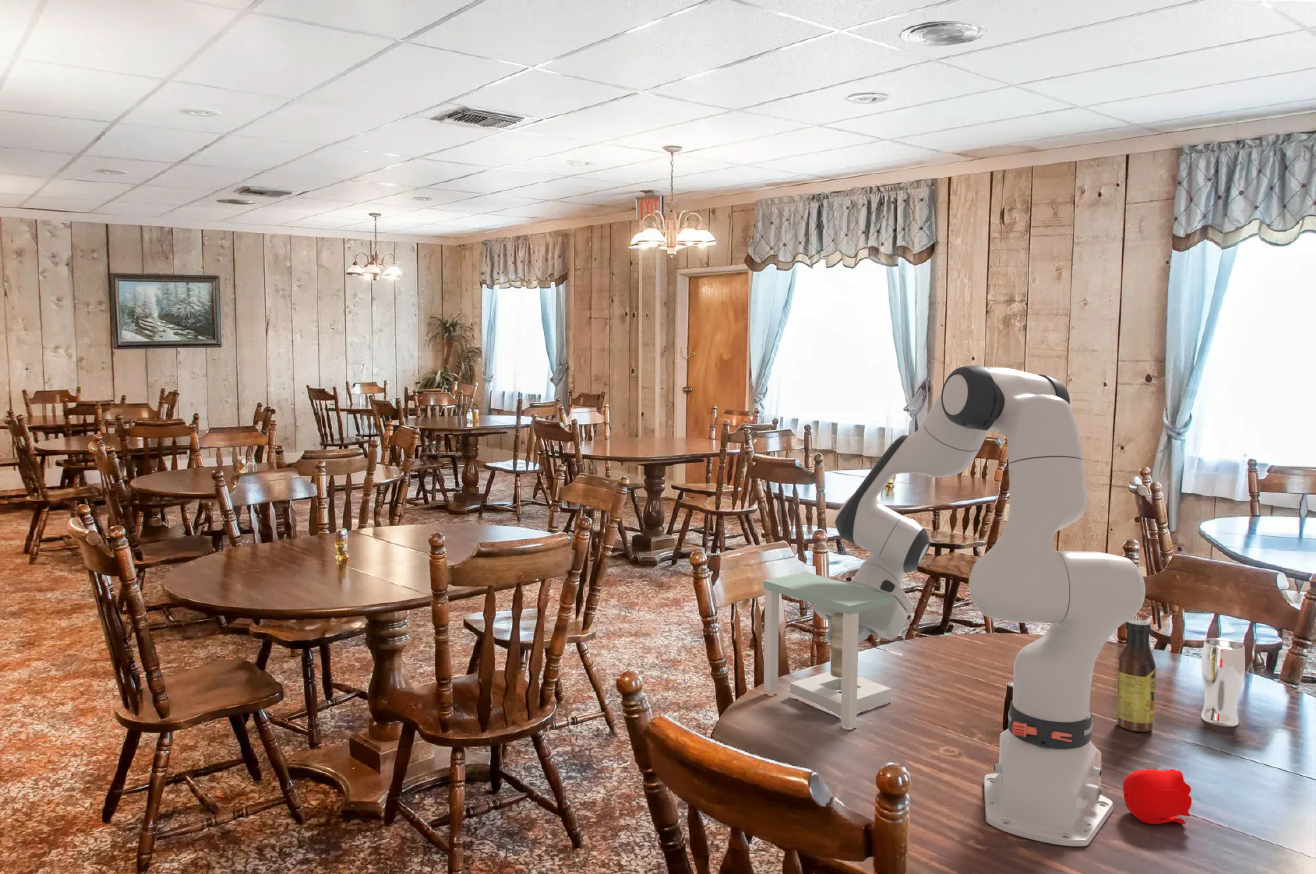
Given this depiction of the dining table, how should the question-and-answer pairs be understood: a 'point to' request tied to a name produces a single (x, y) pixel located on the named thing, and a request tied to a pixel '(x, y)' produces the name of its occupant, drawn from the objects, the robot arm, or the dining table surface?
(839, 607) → the small side table
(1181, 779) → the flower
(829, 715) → the dining table surface
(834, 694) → the socket plate
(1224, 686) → the beer glass
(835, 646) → the birch peg
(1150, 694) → the sauce bottle
